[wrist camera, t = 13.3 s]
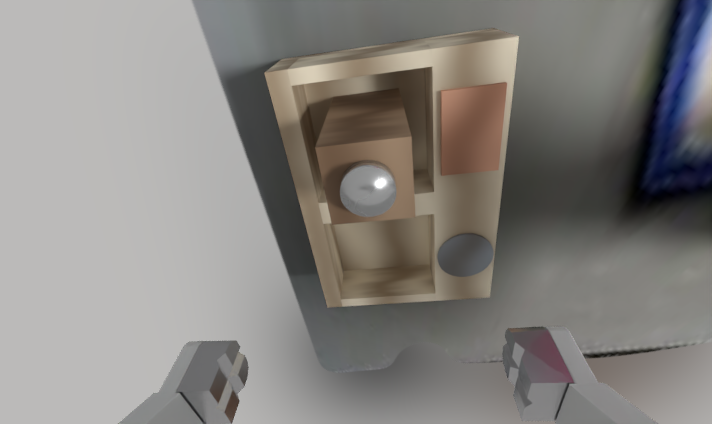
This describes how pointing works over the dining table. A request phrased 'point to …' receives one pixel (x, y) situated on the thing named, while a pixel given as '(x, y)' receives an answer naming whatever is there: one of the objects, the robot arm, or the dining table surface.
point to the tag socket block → (430, 164)
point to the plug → (367, 158)
